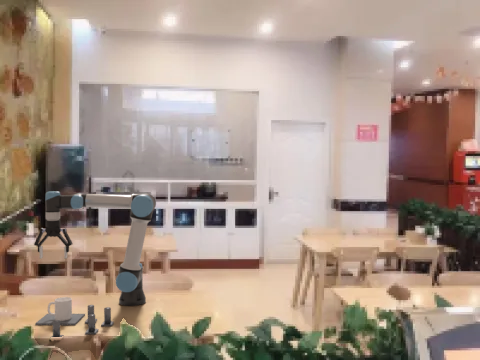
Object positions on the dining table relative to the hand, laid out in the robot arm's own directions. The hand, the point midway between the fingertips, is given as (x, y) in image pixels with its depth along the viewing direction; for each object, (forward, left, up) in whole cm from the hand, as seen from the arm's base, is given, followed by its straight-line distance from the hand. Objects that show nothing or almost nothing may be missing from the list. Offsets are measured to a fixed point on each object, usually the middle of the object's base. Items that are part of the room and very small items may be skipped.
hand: (53, 258), depth 280 cm
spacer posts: (-27, +33, -29) cm, 51 cm away
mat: (-10, +18, -29) cm, 35 cm away
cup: (-10, +19, -28) cm, 35 cm away
